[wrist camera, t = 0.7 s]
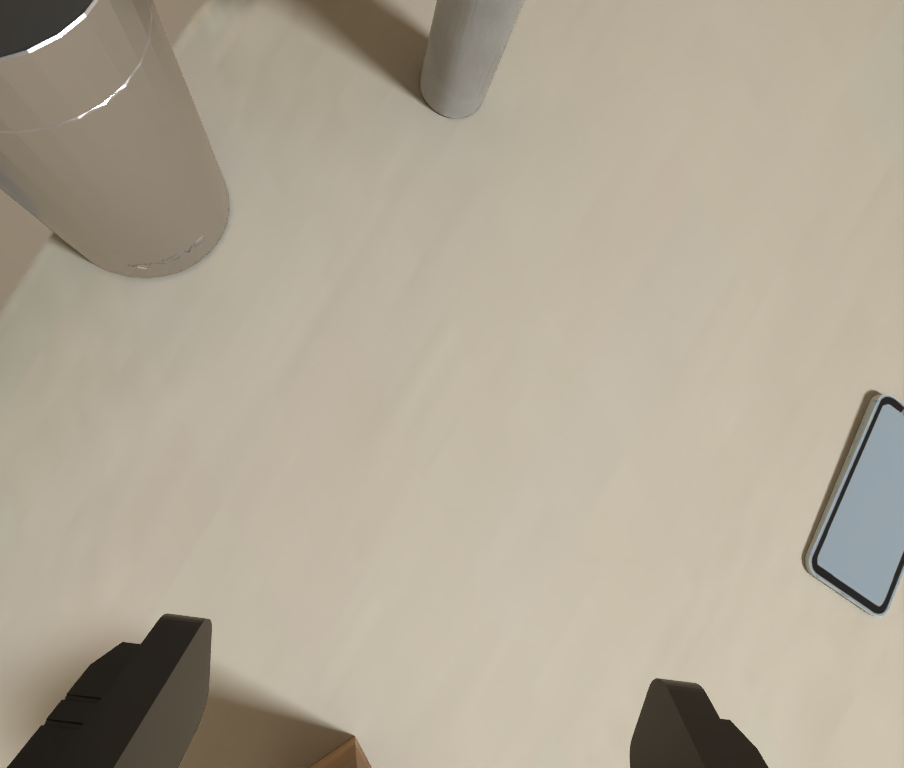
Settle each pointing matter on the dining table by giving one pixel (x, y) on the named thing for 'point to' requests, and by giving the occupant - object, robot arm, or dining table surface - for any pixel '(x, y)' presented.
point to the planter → (465, 52)
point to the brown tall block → (344, 757)
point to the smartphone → (866, 514)
